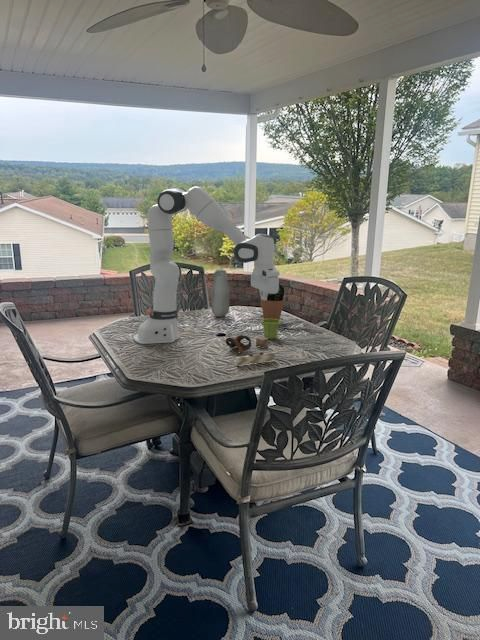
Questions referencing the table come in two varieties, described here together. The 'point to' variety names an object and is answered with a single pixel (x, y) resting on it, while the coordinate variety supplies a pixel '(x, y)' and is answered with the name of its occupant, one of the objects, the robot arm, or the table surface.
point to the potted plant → (273, 305)
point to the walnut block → (262, 341)
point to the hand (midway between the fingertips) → (263, 299)
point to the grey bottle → (220, 294)
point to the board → (255, 358)
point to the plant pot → (270, 328)
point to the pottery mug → (239, 343)
